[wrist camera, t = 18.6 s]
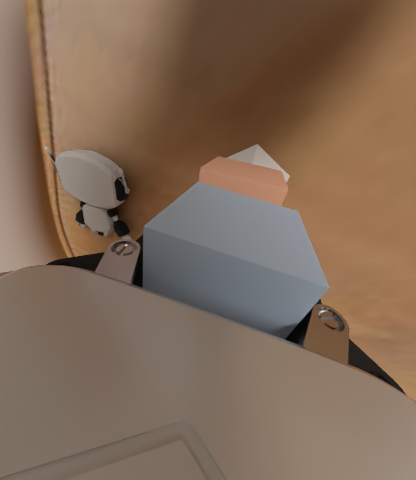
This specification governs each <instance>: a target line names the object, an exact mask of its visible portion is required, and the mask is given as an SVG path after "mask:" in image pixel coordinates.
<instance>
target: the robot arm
mask: <svg viewBox="0 0 416 480" xmlns="http://www.w3.org/2000/svg"><path fill="white" fill-rule="evenodd" d="M0 480H416V402H415V401H414V400H412V399H411V398H409V397H408V396H407V395H406V394H405V393H404V391H403V390H402V388H401V387H400V386H399V385H398V384H397V383H396V382H395V381H394V380H393V379H392V378H391V377H390V376H389V375H388V374H387V373H386V372H385V371H383V370H382V369H381V368H380V367H379V366H378V365H377V364H376V363H375V362H374V361H373V360H372V359H371V358H369V357H368V356H367V355H366V354H365V353H364V352H363V351H362V350H361V349H360V348H359V347H358V346H357V345H355V344H354V343H353V342H352V341H351V340H350V339H349V327H348V324H347V322H346V320H345V319H344V318H343V317H342V315H340V314H339V313H338V312H337V311H336V310H334V309H333V308H331V307H329V306H327V305H323V304H322V303H321V300H320V299H319V301H318V302H317V303H316V304H315V305H314V306H313V307H312V309H311V310H310V311H309V312H308V313H307V314H306V316H305V317H304V318H303V319H302V320H301V321H300V322H299V324H298V325H297V326H296V327H295V328H294V329H293V330H292V332H291V333H290V334H289V335H288V336H287V337H286V339H282V338H279V337H276V336H274V335H271V334H268V333H266V332H263V331H260V330H257V329H255V328H252V327H249V326H247V325H244V324H241V323H238V322H236V321H233V320H230V319H227V318H225V317H222V316H219V315H216V314H214V313H211V312H208V311H205V310H203V309H200V308H197V307H194V306H192V305H189V304H186V303H183V302H181V301H178V300H175V299H172V298H169V297H167V296H164V295H161V294H158V293H155V292H153V291H150V290H147V289H144V288H143V235H142V236H141V237H140V238H139V239H137V240H136V241H134V240H130V239H121V240H117V241H114V242H112V243H111V244H110V245H109V246H108V248H107V249H106V251H105V252H103V253H97V254H90V255H84V256H78V257H71V258H65V259H59V260H55V261H53V262H51V263H48V264H46V265H38V266H30V267H25V268H21V269H18V270H15V271H10V272H3V273H0Z"/></svg>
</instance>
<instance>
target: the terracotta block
mask: <svg viewBox="0 0 416 480" xmlns="http://www.w3.org/2000/svg"><path fill="white" fill-rule="evenodd" d="M198 182H201V183H204V184H208V185H211V186H214V187H218V188H221V189H224V190H228V191H231V192H235V193H238V194H241V195H245V196H248V197H252V198H255V199H258V200H262V201H265V202H268V203H272V204H275V205H279V206H282V204H283V201H284V199H285V197H286V194H287V192H288V190H289V188H288V186H287V183H286V181H285V178H284V176H283V173H282V171H280V170H276V169H271V168H267V167H263V166H258V165H254V164H250V163H245V162H241V161H237V160H232V159H228V158H224V157H219V156H218V157H216V158H215V159H213V160H212V161H210V162H208V163H207V164H205V165H204V166H202V167H200V173H199V181H198Z"/></svg>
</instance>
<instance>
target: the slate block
mask: <svg viewBox="0 0 416 480" xmlns="http://www.w3.org/2000/svg"><path fill="white" fill-rule="evenodd" d="M143 288H144V289H147V290H150V291H153V292H155V293H158V294H161V295H164V296H167V297H169V298H172V299H175V300H178V301H181V302H183V303H186V304H189V305H192V306H194V307H197V308H200V309H203V310H205V311H208V312H211V313H214V314H216V315H219V316H222V317H225V318H227V319H230V320H233V321H236V322H238V323H241V324H244V325H247V326H249V327H252V328H255V329H257V330H260V331H263V332H266V333H268V334H271V335H274V336H276V337H279V338H282V339H286V337H287V336H288V335H289V334H290V333H291V332H292V330H293V329H294V328H295V327H296V326H297V325H298V324H299V322H300V321H301V320H302V319H303V318H304V317H305V316H306V314H307V313H308V312H309V311H310V310H311V309H312V307H313V306H314V305H315V304H316V303H317V302H318V301H319V299H320V298H321V297H322V296H323V295H324V294H325V292H326V291H327V290H328V289H329V286H328V283H327V281H326V278H325V276H324V273H323V271H322V269H321V266H320V264H319V261H318V259H317V256H316V254H315V251H314V249H313V247H312V244H311V242H310V239H309V237H308V234H307V232H306V230H305V227H304V225H303V222H302V220H301V217H300V215H299V212H298V211H296V210H292V209H289V208H285V207H282V206H279V205H275V204H272V203H268V202H265V201H262V200H258V199H255V198H252V197H248V196H245V195H241V194H238V193H235V192H231V191H228V190H224V189H221V188H218V187H214V186H211V185H208V184H204V183H201V182H197V183H196V184H195V185H193V186H192V187H191V188H190V189H188V190H187V191H186V192H185V193H183V194H182V195H181V196H180V197H179V198H177V199H176V200H175V201H174V202H172V203H171V204H170V205H169V206H168V207H166V208H165V209H164V210H163V211H161V212H160V213H159V214H158V215H157V216H155V217H154V218H153V219H152V220H150V221H149V222H148V223H147V224H146V225H144V226H143Z"/></svg>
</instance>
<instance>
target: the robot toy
mask: <svg viewBox="0 0 416 480" xmlns="http://www.w3.org/2000/svg"><path fill="white" fill-rule="evenodd" d="M45 151H46V152H47V153H48V154H49V156H50V158H51V159H52V161H53V163H54V164H55V166H56V170H57V172H58V175H59V178H60V181H61V183H62V186H63V187H64V188H65V189H66V190H67V191H68V192H69V194H71V195H72V196H74V197H75V198H77V199H79V200H81V203H80V206H81V207H82V210H80V211H79V212H78V213H77V214H76V221H77V224H78V225H79V226H80V225H81V227H82V228H85V227H86V226H88V227H90V228H91V230H92V231H93V232H94V233H95V234H97V233H98V234H99V235H101V236H107V235H109V234H110V233H111V232H112V231H114V230H115V232H116V233H117V235H118V236H119V237H122V239H130V240H131V236H130V235H129V234H128V233H129V232H130V231H129V229H128V227H127V225H126V223H124V222H123V221H121V220H119V219H118V217H117V214H118V212H117V210H116V208H115V207H117V206H118V205H120V204H121V203H123V202H124V201H125V199H127V197H128V193H129V192H130V190H129V188H128V185H127V181H126V178H125V177H124V173H123V169H121V168H119V167H118V166H117V165H116V164H115V163H114V162H113V161H111V160H110V159H108V158H106V157H105V156H103V155H100V154H98V153H96V152H94V151H92V150H82V149H77V150H71V151H66V152H62V153H60V154H59V155H57V158H56V161H55V159H54V158H53V156H52V154H51V153H50V150H49V148H47V147H46V146H45Z"/></svg>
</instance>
